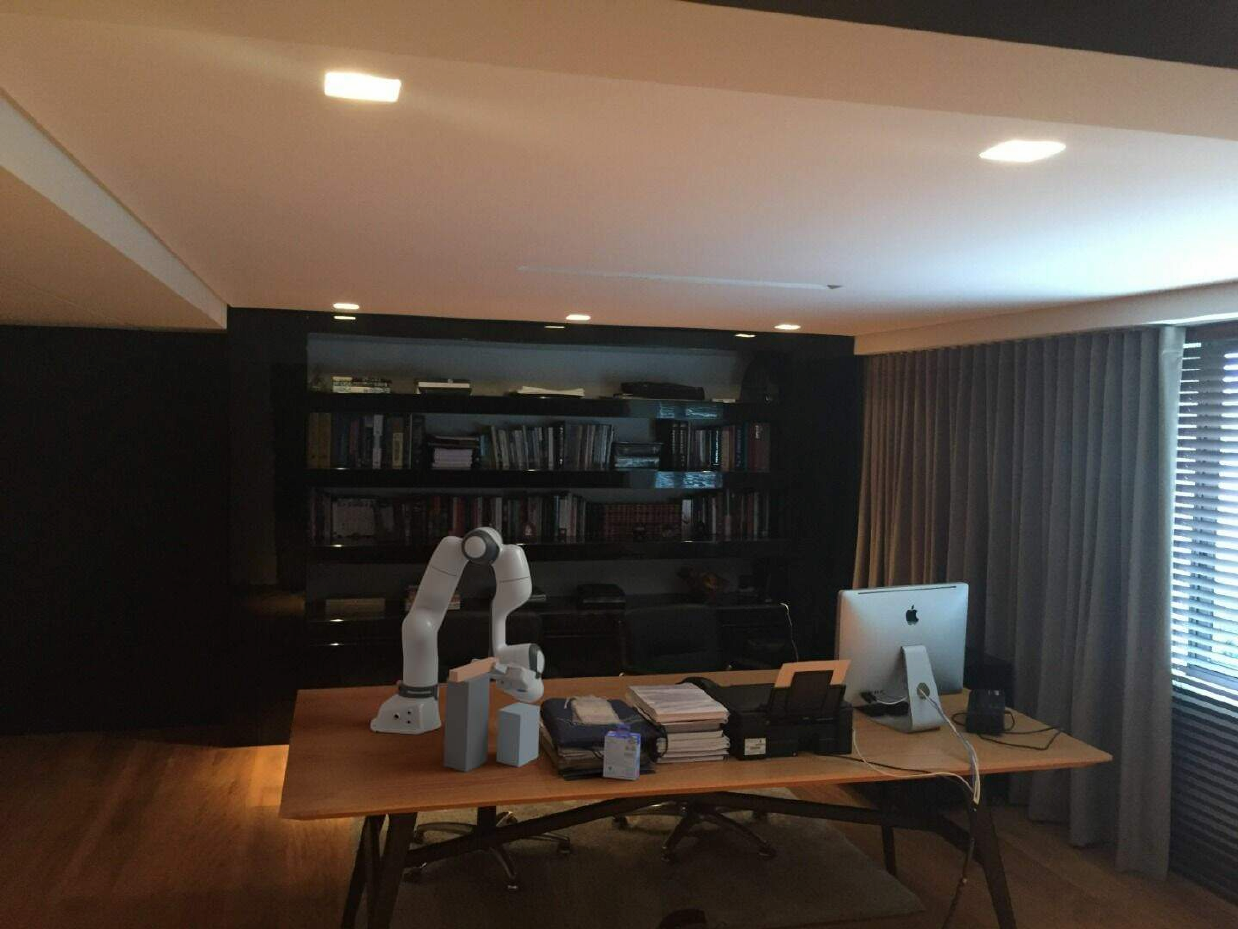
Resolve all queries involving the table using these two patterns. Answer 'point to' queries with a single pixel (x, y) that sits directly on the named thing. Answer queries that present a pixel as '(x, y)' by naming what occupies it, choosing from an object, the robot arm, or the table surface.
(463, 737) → the tall stand
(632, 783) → the table surface
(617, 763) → the ink cartridge box
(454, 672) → the bar
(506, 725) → the low block
